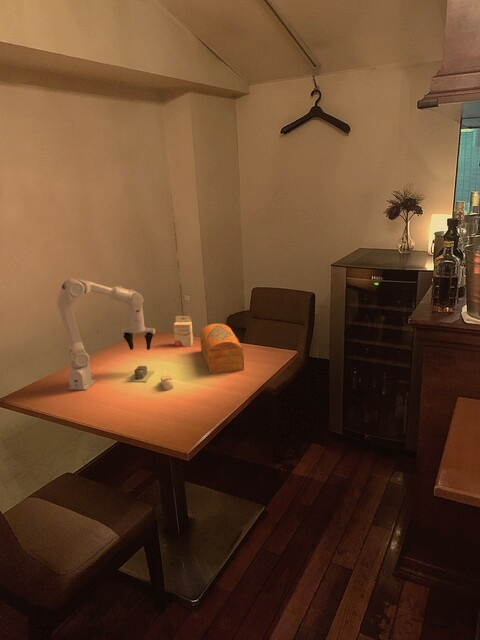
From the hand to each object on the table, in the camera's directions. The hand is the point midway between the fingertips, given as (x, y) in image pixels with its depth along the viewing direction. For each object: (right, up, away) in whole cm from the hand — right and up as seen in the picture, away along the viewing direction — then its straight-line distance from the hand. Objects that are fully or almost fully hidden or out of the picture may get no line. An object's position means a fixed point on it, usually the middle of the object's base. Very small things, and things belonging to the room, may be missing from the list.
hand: (140, 349), depth 204 cm
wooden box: (+36, -6, +11) cm, 38 cm away
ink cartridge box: (+15, 0, +34) cm, 37 cm away
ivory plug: (+14, -14, -15) cm, 25 cm away
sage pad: (+1, -11, -4) cm, 12 cm away
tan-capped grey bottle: (+1, -11, -4) cm, 12 cm away
